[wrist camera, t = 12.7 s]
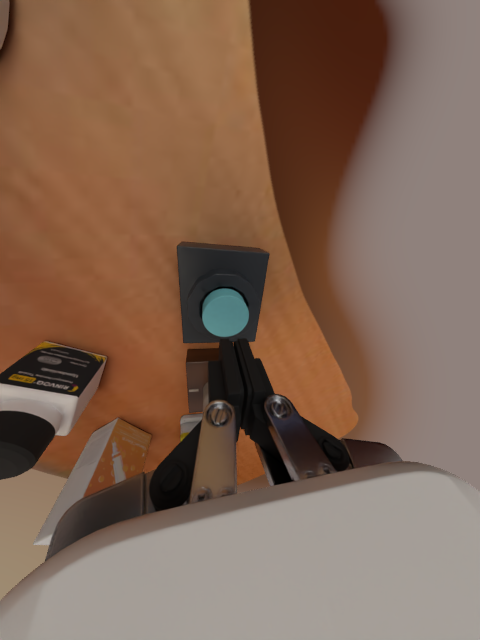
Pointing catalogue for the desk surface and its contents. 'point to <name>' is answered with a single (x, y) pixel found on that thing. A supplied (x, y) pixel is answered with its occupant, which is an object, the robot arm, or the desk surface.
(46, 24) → the desk surface
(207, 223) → the desk surface
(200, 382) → the rotary knob switch
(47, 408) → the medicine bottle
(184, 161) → the desk surface
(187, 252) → the button housing
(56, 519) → the small box
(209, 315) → the teal button cap
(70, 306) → the desk surface
